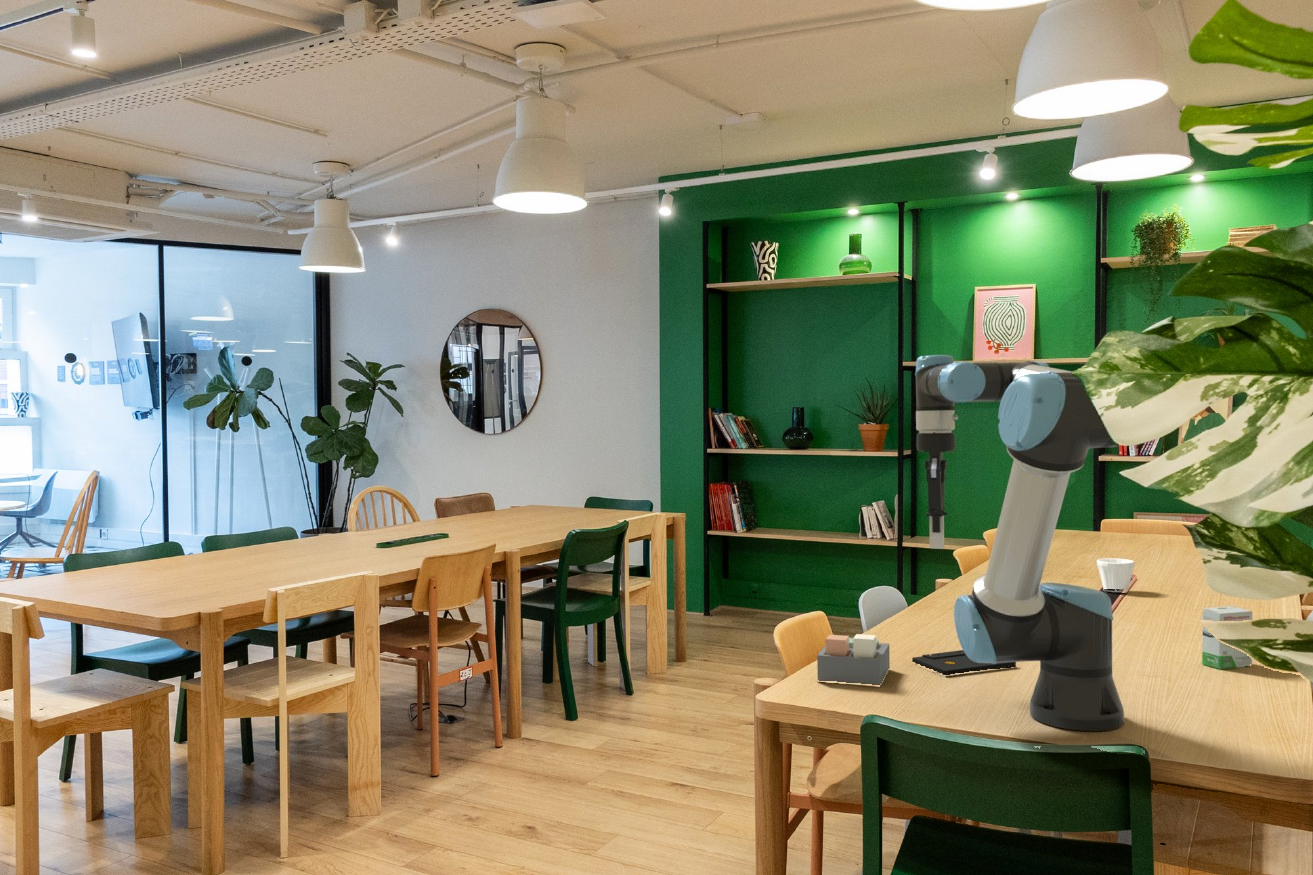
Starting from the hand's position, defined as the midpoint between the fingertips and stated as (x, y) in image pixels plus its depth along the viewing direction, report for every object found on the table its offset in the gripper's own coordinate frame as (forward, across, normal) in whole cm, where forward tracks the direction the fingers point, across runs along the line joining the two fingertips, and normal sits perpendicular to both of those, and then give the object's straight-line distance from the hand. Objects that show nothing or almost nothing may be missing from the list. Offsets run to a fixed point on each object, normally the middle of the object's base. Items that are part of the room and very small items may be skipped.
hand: (936, 547), depth 199 cm
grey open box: (+26, -4, +16) cm, 31 cm away
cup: (+27, +109, -41) cm, 119 cm away
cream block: (+23, -7, +13) cm, 28 cm away
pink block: (+24, -8, +19) cm, 31 cm away
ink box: (+27, +27, -56) cm, 68 cm away
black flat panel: (+27, +11, -4) cm, 30 cm away
